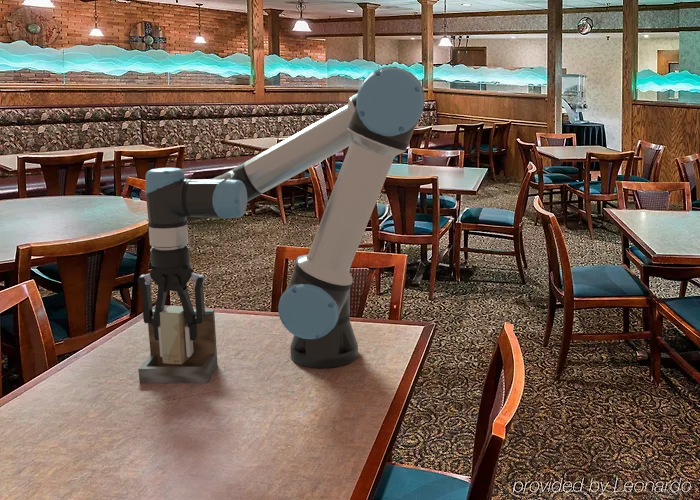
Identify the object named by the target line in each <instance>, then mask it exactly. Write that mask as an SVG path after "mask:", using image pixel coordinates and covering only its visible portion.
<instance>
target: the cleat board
mask: <svg viewBox="0 0 700 500" xmlns="http://www.w3.org/2000/svg"><path fill="white" fill-rule="evenodd" d="M193 309H194V312H195V315H196V308H193ZM152 310H153V316H154V312H155V308H152ZM215 315H216V314H215V309H214V308H213V309H212V308H207V309H206V308H205V319H204V320H203V322H202V323H200V324H197V338H196V339H195V340H193V351H194V352H193V354H192V355H191V357H190V358H188V359H187V360H186V361H185V362H184V363H183V364H169V363H163V357H160V345H159V340H155V338H154V327H153V325H152V324H149V323H147V327H148V328H147V329H148V340H149V350H150V352H149V353H150V354H149V355H148V357H146V359H145V360H144V361H143V363H142V364H141V365H140V366H139V368H138V370H137V372H138V379H139V381H138V383H140V384H141V383H142V384H143V383H145V384H146V383H153V384H154V383H156V384H157V383H159V384H160V383H161V384H163V383H167V384H168V383H171V384H172V383H174V384H175V383H176V384H177V383H180V384H181V383H183V384H185V383H187V384H189V383H193V384H194V383H195V384H197V383H200V384H201V383H205V384H206V383H207V384H208V383H209V380H210V379H211V377H212V375H213V373H214V372H215V370H216V368H217V366H218V352H217V351H218V350H217V333H216V319H215V317H216V316H215Z"/></svg>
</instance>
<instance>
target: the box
mask: <svg viewBox="0 0 700 500" xmlns="http://www.w3.org/2000/svg"><path fill="white" fill-rule="evenodd" d="M187 324H188V322H187V319H186V316H185V313H184V310H183V307H182V305H169V306H167V307H166V308H164V310H163V311H162V312H160V325H161V341H162V356H163V363H169V364H183V363H184V362H185V361H186V360H187V359H188V358H190V357H187V354H186V339H185V326H186V325H187Z"/></svg>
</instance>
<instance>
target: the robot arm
mask: <svg viewBox="0 0 700 500" xmlns="http://www.w3.org/2000/svg"><path fill="white" fill-rule="evenodd" d="M425 102H426V101H425V91H424V87H423V86H422V84H421V81H420V80H419V79H418V78H417V77H416V75H414V74H413V73H412V72H410V71H408V70H406V69H405V68H400V67H397V66H385V67H381V68H378V69H377V70H376V69H375V70H374V71H373V72H371V73H370V74H369V75H368V76H367V77H366V78H365V79H364V80H363V82H362V83H361V84H360V86H359V88H358V91H357V93H355V94H353V95H351V96H350V97H349V99H348V103H347V104H346V105H344V106H342V107H340V108H339V109H337V110H335V111H333V112H331V113H330V114H328V115H326V116H324V117H323V118H321V119H319V120H318V121H316V122H314V123H312V124H310V125H308V126H307V127H305V128H303V129H302V130H300V131H298V132H296V133H294V134H293V135H290V136H289V137H288V138H285V139H284V140H282V141H280V142H278V143H277V144H275V145H273V146H271V147H269V148H268V149H266V150H264V151H263V152H260V153H259V154H257V155H256V156H253V157H252V158H250V159H248V160H246V161H245V162H244V163H242V164H240V165H237V166H236V167H234V168H233V169H230V170H229V171H226V172H225V173H223V174H221V175H218V176H215V177H213V178H208V179H206V178H202V179H200V178H199V179H193V178H186V175H185V172H184V170H183V169H182V168H178V167H159V168H152V169H150V170H147V171H146V173H145V191H144V194H145V198H146V199H145V201H146V208H147V209H146V210H147V219H148V220H147V221H148V222H147V224H148V236H149V245H150V246H151V248H150V250H149V251H150V263H151V265H150V266H151V269H150V272H149V273H147V274H146V273H145V274H144V273H143V274H141V275H140V276H139V277H137V279H136V280H137V283H138V286H139V288H140V290H141V291H140V292H141V293H140V294H141V306H142V314H143V315H142V316H143V317H142V318H143V323H144V324H148V323H149V324H152V325H153V327H154V338H155V340H159V345H160V357H163V356H162V341H161V325H160V312H162V311H163V310H164V309H165V305H166V304H165V303H166V299H167V294H168V292H170V291H171V292H176V294H177V296H178V297H179V300H180V305H181V306H182V307H183V310H184V313H185V316H186V319H187V322H188V324H187V325H186V326H185V339H186V354H187V357H191V355H192V354H193V352H194V351H193V340H195V339H196V338H197V324H200V323H202V322H203V320H204V319H205V309H206V308H205V294H204V293H205V291H204V284H205V281H206V278H207V277H206V275H205V273H202V274H198V273H195V272H193V269H192V268H191V264H190V260H191V259H190V247H189V246H188V245H187V244H188V243H189V231H188V218H209V219H210V218H214V219H215V218H216V219H218V218H219V219H224V220H225V219H227V220H228V219H232V218H233V219H235V218H236V219H237V218H242V217H243V216H244V215H245V213H246V210H247V206H248V202H249V201H251V200H253V199H255V198H257V197H259V196H260V195H262V194H263V193H266V192H267V191H269V190H271V189H273V188H275V187H277V186H279V185H280V184H282V183H284V182H286V181H287V180H290V179H291V178H294V177H295V176H297V175H299V174H301V173H303V172H304V171H306V170H308V169H309V168H312V167H314V166H315V165H317V164H319V163H321V162H322V161H324V160H327V159H328V158H330V157H332V156H333V155H335V154H338V153H339V152H341V151H343V150H345V149H346V148H347V152H346V154H345V157H344V160H343V162H342V165H341V167H340V170H339V173H338V175H337V178H336V181H335V183H334V186H333V188H332V191H331V192H330V196H329V199H328V201H327V204H326V207H325V209H324V212H323V214H322V217H321V220H320V223H319V224H318V228H317V230H316V232H315V235H314V238H313V241H312V243H311V247H310V249H309V252H308V254H303V255H298V256H297V258H296V260H295V266H294V269H293V272H292V274H291V277H290V279H289V281H288V284H287V287H286V289H285V290H284V291H283V293H282V294H281V296H280V298H279V302H278V307H277V308H278V311H277V312H278V317H279V320H280V321H281V323H282V326H283V327H284V328H285V329H286V330H287V331H288V332H289V333H291V334H292V335H293V337H292V341H291V343H290V348H289V349H290V358H291V360H292V361H293V362H294V363H296V364H298V365H301V366H302V367H303V366H304V367H308V368H309V367H310V368H314V369H315V368H318V369H319V368H320V369H322V368H323V369H326V368H327V369H329V368H337V367H341V366H345V365H348V364H351V363H352V362H354V361H355V360H356V359H357V358H358V356H359V345H358V341H357V338H356V336H355V331H354V330H353V326H352V324H351V307H350V305H351V299H350V298H351V296H350V295H351V294H350V292H351V291H350V288H351V286H352V284H353V281H354V279H353V277H352V274H351V266H352V263H353V262H354V259H355V256H356V253H357V251H358V250H359V246H360V244H361V241H362V238H363V236H364V234H365V231H366V228H367V226H368V223H369V221H370V218H371V216H372V213H373V210H374V208H375V206H376V204H377V201H378V199H379V196H380V194H381V191H382V189H383V186H384V184H385V181H386V179H387V176H388V174H389V171H390V169H391V167H392V164H393V161H394V159H395V157H396V156H398V155H400V154H403V153H406V151H407V149H408V146H409V144H410V141H411V139H412V136H413V134H414V131H415V129H416V126H417V124H418V122H419V120H420V118H421V117H422V114H423V111H424V108H425ZM190 279H191V280H192V284H193V285H194V299H195V300H194V301H195V302H194V303H195V308H194V307H193V304H192V300H191V298H190V294H189V289H188V285H187V284H188V283H189V281H190ZM152 280H153V282H154V283H155V284H156V285H157V292H156V302H155V308H154V309H155V312H154V316H153V310H152V309H153V300H152V299H153V298H152V287H151V286H152V285H151V283H152ZM194 309H196V315H195V312H194Z"/></svg>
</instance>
